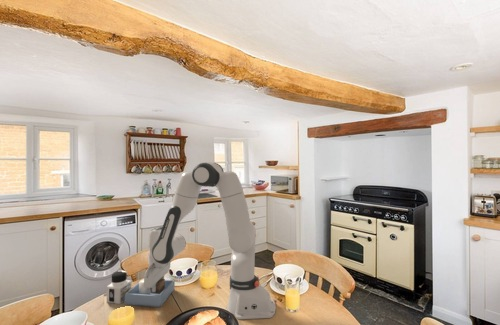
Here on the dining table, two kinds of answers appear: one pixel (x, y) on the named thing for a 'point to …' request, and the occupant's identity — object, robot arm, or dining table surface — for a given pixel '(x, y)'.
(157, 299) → the tote
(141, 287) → the cream cylinder
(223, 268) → the dining table surface
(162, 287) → the walnut cube
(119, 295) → the container
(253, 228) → the robot arm
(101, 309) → the dining table surface
